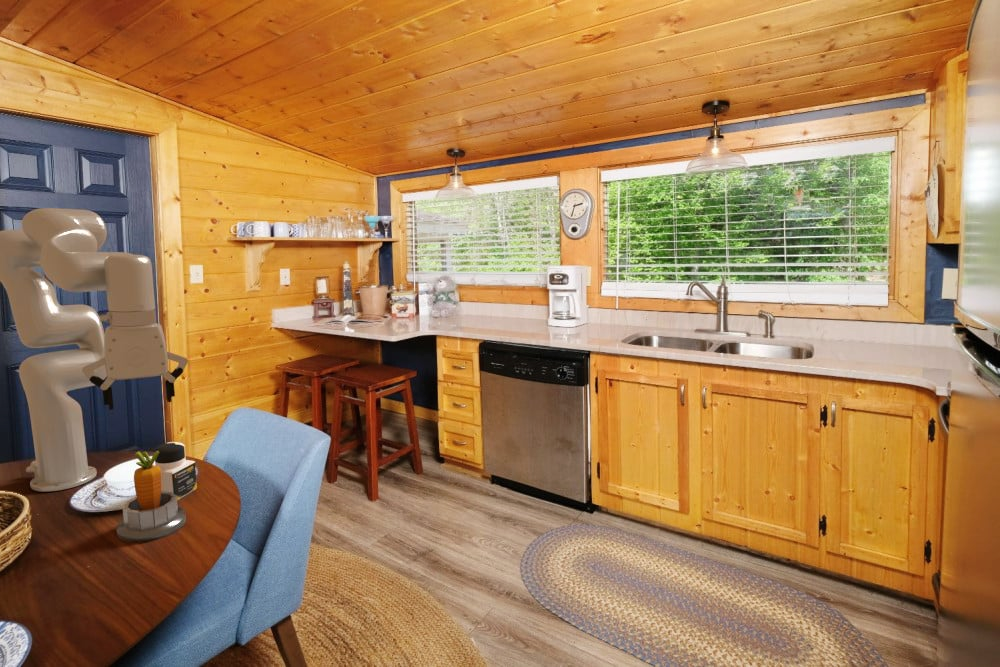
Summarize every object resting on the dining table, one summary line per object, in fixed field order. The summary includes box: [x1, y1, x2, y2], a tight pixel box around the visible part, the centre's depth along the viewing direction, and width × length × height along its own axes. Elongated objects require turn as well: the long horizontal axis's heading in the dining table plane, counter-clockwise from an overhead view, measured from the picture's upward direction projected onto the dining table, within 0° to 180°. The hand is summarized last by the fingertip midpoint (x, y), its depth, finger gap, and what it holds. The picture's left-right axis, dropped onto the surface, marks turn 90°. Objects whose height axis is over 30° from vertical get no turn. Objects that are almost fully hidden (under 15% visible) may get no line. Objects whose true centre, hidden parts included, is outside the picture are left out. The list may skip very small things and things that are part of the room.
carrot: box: [133, 451, 162, 511], centre depth 112 cm, size 5×5×15 cm
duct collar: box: [116, 491, 187, 543], centre depth 112 cm, size 12×12×6 cm
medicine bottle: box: [153, 441, 198, 501], centre depth 126 cm, size 7×7×12 cm
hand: (140, 404), depth 109 cm, fingers open, 9 cm apart
